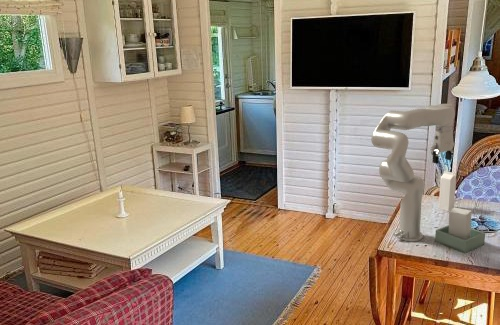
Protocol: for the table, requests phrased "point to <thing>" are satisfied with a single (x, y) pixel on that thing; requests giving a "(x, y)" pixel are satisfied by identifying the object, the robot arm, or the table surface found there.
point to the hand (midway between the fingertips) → (441, 161)
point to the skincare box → (460, 223)
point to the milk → (447, 191)
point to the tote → (460, 240)
